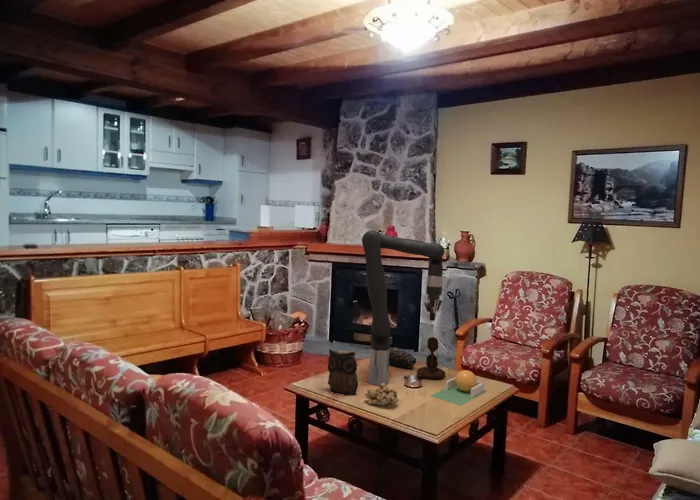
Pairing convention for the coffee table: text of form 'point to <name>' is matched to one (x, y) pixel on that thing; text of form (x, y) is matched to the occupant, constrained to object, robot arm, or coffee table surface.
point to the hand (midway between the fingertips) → (432, 320)
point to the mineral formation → (382, 395)
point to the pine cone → (401, 359)
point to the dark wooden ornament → (431, 362)
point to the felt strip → (454, 395)
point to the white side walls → (474, 391)
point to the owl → (342, 372)
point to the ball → (465, 380)
